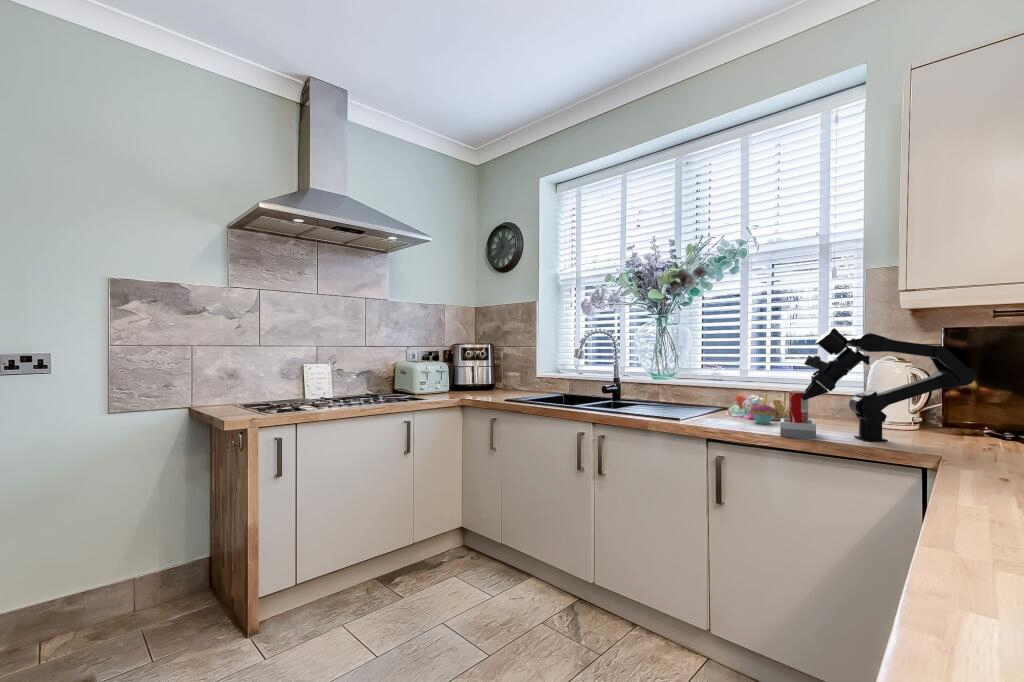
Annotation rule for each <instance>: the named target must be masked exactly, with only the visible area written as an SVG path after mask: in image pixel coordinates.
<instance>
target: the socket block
mask: <svg viewBox="0 0 1024 682" xmlns="http://www.w3.org/2000/svg"><path fill="white" fill-rule="evenodd" d="M779 421H780V423H779V426H780V429H779V431H780V432H779V433H780V437H788V438H789V437H790V438H800V439H801V438H803V439H813V438H814V439H815V440H816V439H817V423H816V420H815V419H814V420H813V419H808V424H807V423H791V422H789V418H781V420H779Z"/></svg>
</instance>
